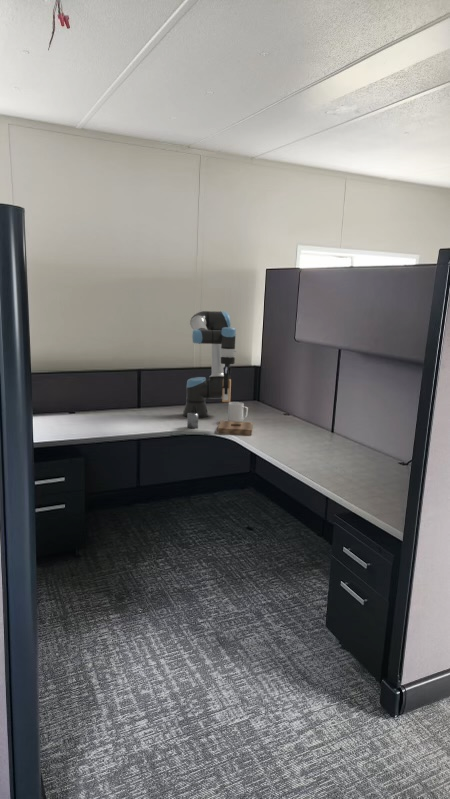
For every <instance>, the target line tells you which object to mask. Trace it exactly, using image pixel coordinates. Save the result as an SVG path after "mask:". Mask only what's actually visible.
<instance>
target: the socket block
mask: <svg viewBox="0 0 450 799" xmlns="http://www.w3.org/2000/svg"><path fill="white" fill-rule="evenodd" d="M253 424H254V422H251V421H249V422H248V421H242V422H234V421H229V420H220V422H219V425H218V427H217V434H219V435H220V434H221V435H235V436H236V435H238V436H239V435H242V436H252V435H253Z"/></svg>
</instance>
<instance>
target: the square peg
mask: <svg viewBox="0 0 450 799" xmlns="http://www.w3.org/2000/svg"><path fill="white" fill-rule="evenodd" d="M223 385H224V379H223ZM231 387H232V379H231V378H230V379H229V399H228V400H223V395H224V388H223V391H222V399H221V402H222V403H230V402H231V392H232V391H231V389H232V388H231Z"/></svg>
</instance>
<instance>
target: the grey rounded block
mask: <svg viewBox="0 0 450 799" xmlns="http://www.w3.org/2000/svg"><path fill="white" fill-rule="evenodd" d="M186 418H187V420H186V422H187V423H186V429H189V430H196V429H198V428H199V418H198V413H187V417H186Z"/></svg>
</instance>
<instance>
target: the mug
mask: <svg viewBox="0 0 450 799" xmlns="http://www.w3.org/2000/svg"><path fill="white" fill-rule="evenodd" d="M244 408H245V416H244ZM227 410H228V411H227V414H228V416H227V421H234V422H244V419H246V418H247V417H248V412H249V407H247V406H245V404H244V402H241V401H240V402H239V401H230V402H228V408H227Z"/></svg>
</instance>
